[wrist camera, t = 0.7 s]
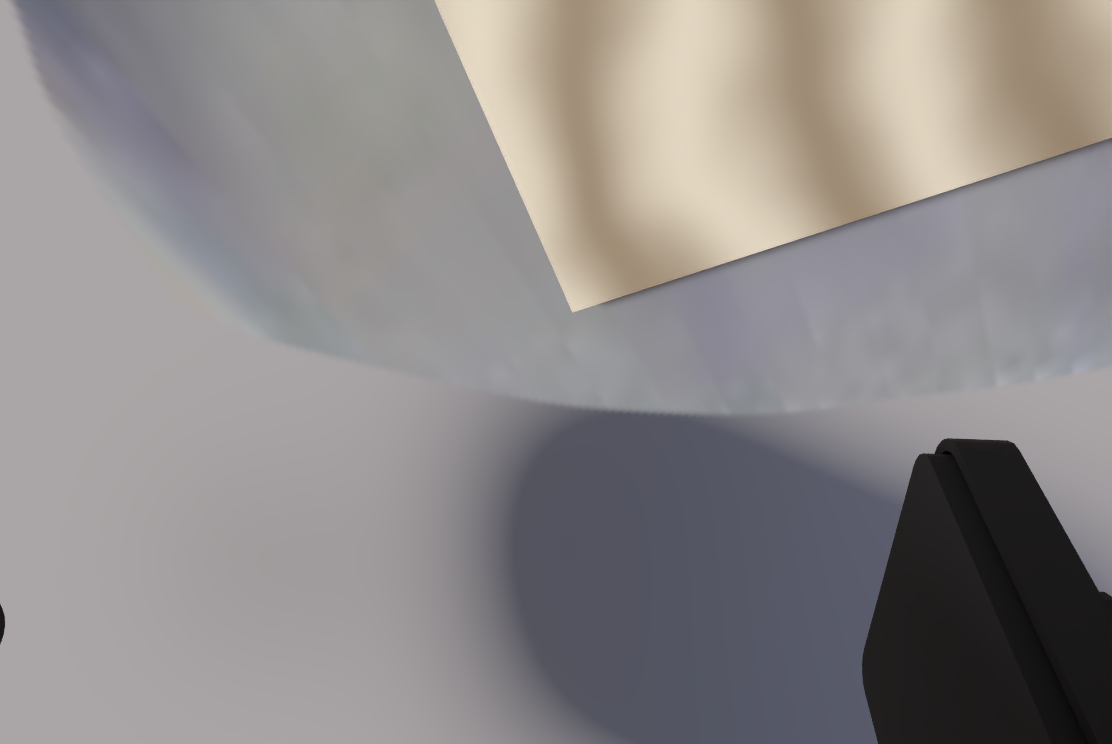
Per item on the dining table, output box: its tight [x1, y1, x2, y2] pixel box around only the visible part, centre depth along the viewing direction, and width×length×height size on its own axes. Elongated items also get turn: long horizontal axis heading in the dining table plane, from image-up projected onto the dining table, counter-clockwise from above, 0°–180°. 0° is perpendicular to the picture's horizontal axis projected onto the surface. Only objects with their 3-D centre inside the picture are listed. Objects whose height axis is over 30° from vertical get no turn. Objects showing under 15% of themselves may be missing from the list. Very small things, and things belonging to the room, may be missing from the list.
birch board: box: [435, 0, 1112, 312], centre depth 30 cm, size 22×14×1 cm, turn 112°
